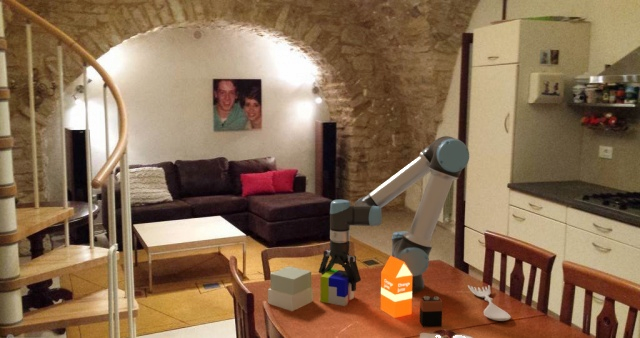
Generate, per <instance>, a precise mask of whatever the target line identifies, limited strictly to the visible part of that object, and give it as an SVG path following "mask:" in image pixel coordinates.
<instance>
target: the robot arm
mask: <svg viewBox="0 0 640 338" xmlns="http://www.w3.org/2000/svg"><path fill="white" fill-rule="evenodd" d="M469 161H470V151H469V148H468V146H467V145H466V144H465V143H464V141H461V140H460V139H458V138H455V137H452V136H450V135H448V136H447V135H445V136H441V137H439V138H437V139H434V141H433V142H432V143H430V144H429V145H427V146H426V147H425V148H424V149H423V150H421V151H420V152H419V156H417V157H416V158H415V159H414V160H412V161H411V162H410V163H408V164H407V165H405V166H404V167H403V168H402V169H400V170H399V171H398V172H396V173H394V175H392V176H391V177H389V178H388V179H387V180H386V181H384V182H382V184H380V185H379V186H377V187H375V189H373V190H372V191H371V192H369V193H368V194H367V195H366V196H364V197H361V198H358V200H356V201H355V205H351V202H350V200H348V199H334V200H332V201H331V202H330V209H329V239H330V240H329V249H326V250H323V257H322V259H321V263H320V266H319V267H318V268H319V269H318V273H319V274H321V276H322V275H323V274H325V273H326V272H327V271H329V270H331V269H333V267H334V266H335V265H340V266H342V268H343V269H344V271H346V273H347V275H348V277H349V280H350V283H349V300H350V301H351V300H352V299H354V298H355V291H356V290H357V283H359V282H361V279H362V278H361V275H360V272H359V268H358V265H357V256H356V255H350V253H349V251H350V236H351V235H350V234H351V229H350V227H351V226H358V227H359V226H361V227H362V226H365V227H375V226H377V227H378V226H381V224H382V218H383V217H382V216H383V215H382V208H383V207H384V206H386V205H387V204H389V203H390V202H391V201H393V200H394V199H396V197H397V198H398V196H399V195H401V194H402V193H404V192H405V191H406V190H408V189H410V187H412V186H413V185H415V184H416V183H417V182H418V181H420V180H422V179H423V178H424V177H425V176H426V175H428V174H430V175H429V177H428V180H427V183H426V185H425V187H424V190H423V194H422V195H421V199H420V202H419V203H418V207H417V209H416V212H415V214H414V218H413V220H412V222H411V225H410V228H409V230H406V231H405V230H403V231H399V230H398V231H394V232H393V233H392V238H391V241H392V242H391V243H392V244H391V256H392V257H394V258H397V259H399V260H401V261H403V262H405V264H406V266H407V267H408V269H409V270H410V272H411V274H412V275H413V276H412V294H413V293H420V292H422V291H423V290H424V289H425V280H424V277H423V274H424V273H425V272H426V271H427V270H428V268H429V264H430V259H429V258H430V257H429V256H430V253H431V251H432V248H433V242H432V241H431V239H432V236H433V234H434V232H435V229H436V226H437V224H438V222H439V218H440V216H441V213H442V210H443V208H444V205H445V204H446V203H445V202H446V200H447V197H448V195H449V192H450V189H451V187H452V184H453V182H454V181H457V180H458V179H459V178H460V175H461V173H462V170H463V169H465V168H466V167H467V165H468V164H469ZM330 258H331V259H330ZM329 259H330V260H329Z"/></svg>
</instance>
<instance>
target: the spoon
mask: <svg viewBox="0 0 640 338" xmlns="http://www.w3.org/2000/svg"><path fill="white" fill-rule="evenodd" d="M467 287H468V289H469V291H470V292H471V293H472V294H474V295H475V296H477V298H478V297H479V298H482V299H483V298H484V301H486V302H488V305H487V306H486V308H485V309H484V310H483V315H484V317H486V318H487V319H490V320H493V321H499V322H504V321H508V320H510V319H512V316H511V315H510V314H509V313H508V312H507V311H506V310H504V309H502V308H500V307H499V306H497V305H496V304H495V303H493V299H494V298H492V297H490V295H491V293H492V291H491V286H490V284H489V285H488V287H487V286H482V289H481V288H480V286H478V287H476V286H474V287H473V286H472V285H471V286H470V285H469V284H468V285H467Z"/></svg>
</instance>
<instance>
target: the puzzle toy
mask: <svg viewBox="0 0 640 338" xmlns="http://www.w3.org/2000/svg"><path fill="white" fill-rule="evenodd" d="M349 283H350V280H349V277H348V275H347V273H346V271H345V270H342V269H334V268H332V269H331V270H329V271H327V272H326V273H325V274H323V275H322V274H321V275H320V303H324V304H325V303H326V304H332V305H337V306H342V307H343V306H344V307H346V306H347V305H348V303H350V302H351V300H349Z"/></svg>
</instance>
